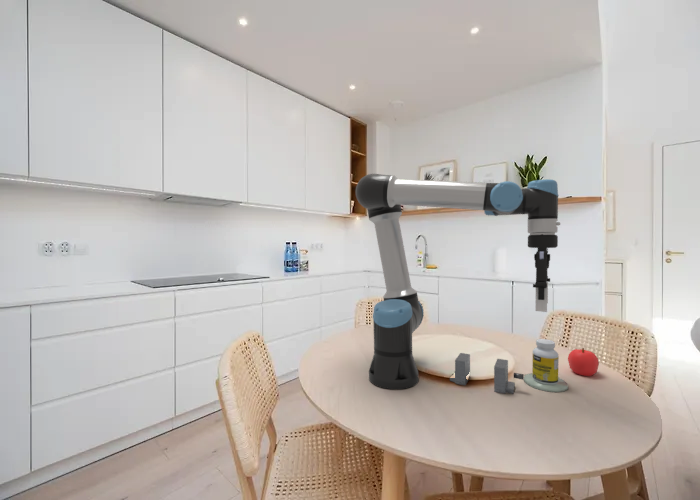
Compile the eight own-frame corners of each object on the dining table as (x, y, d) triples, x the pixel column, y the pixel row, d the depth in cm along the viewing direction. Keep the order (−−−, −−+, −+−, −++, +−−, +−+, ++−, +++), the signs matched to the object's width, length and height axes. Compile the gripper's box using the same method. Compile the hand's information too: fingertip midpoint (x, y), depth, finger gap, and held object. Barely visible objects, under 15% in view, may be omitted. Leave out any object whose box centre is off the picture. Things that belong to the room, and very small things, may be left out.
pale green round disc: (522, 386, 94) (522, 384, 94) (525, 373, 103) (525, 370, 103) (569, 395, 88) (569, 392, 88) (567, 380, 98) (567, 377, 98)
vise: (449, 382, 98) (448, 358, 98) (454, 373, 104) (454, 351, 103) (522, 397, 88) (522, 371, 87) (524, 387, 94) (524, 362, 93)
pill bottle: (527, 378, 98) (527, 339, 97) (544, 375, 100) (544, 337, 99) (546, 387, 92) (546, 345, 91) (563, 383, 93) (564, 343, 93)
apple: (567, 374, 101) (567, 349, 101) (567, 366, 108) (567, 342, 108) (599, 380, 97) (600, 353, 97) (598, 371, 104) (598, 346, 103)
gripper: (558, 233, 83) (557, 317, 84) (557, 234, 104) (556, 300, 105) (524, 234, 87) (524, 313, 88) (530, 234, 108) (530, 298, 109)
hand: (541, 307), depth 96 cm, fingers open, 13 cm apart
